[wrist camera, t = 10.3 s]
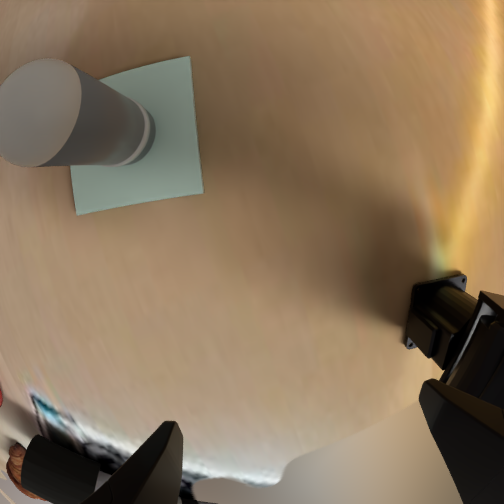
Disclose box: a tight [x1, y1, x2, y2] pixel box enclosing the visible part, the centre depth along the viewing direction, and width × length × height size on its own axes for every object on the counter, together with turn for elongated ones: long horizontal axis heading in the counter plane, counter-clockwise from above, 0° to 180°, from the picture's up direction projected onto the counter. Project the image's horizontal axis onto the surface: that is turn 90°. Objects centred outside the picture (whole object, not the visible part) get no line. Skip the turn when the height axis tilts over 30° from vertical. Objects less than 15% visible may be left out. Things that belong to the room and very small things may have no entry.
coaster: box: [70, 56, 204, 215], centre depth 18 cm, size 10×10×1 cm
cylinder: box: [0, 58, 156, 167], centre depth 11 cm, size 5×5×12 cm
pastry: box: [6, 443, 47, 501], centre depth 27 cm, size 17×15×8 cm
